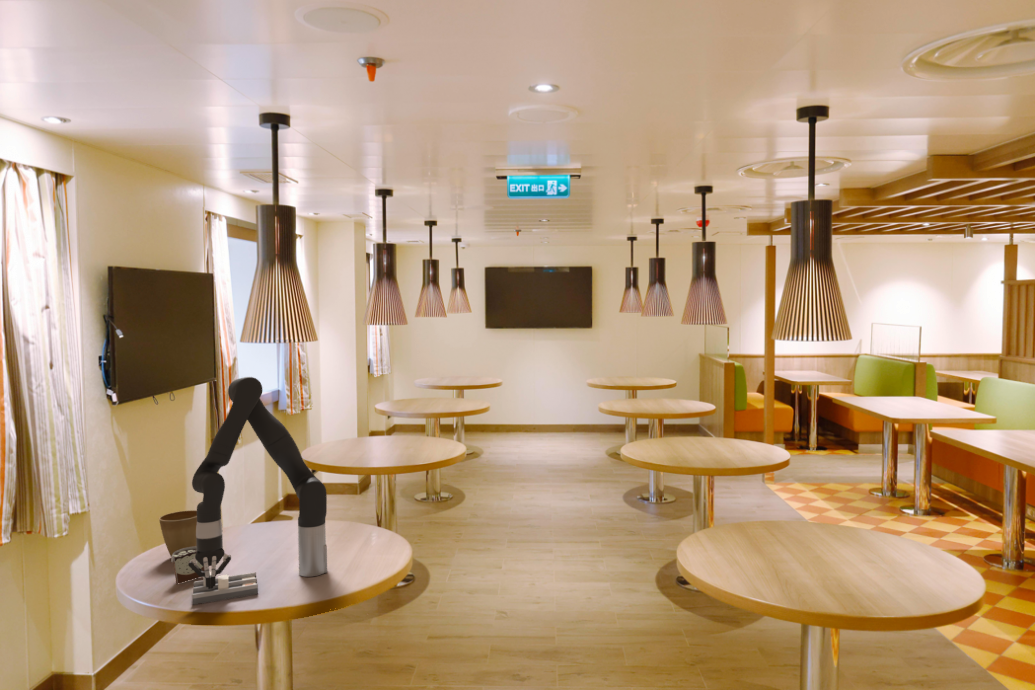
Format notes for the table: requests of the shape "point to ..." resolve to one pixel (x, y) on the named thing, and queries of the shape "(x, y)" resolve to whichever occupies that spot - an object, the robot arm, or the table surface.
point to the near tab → (223, 582)
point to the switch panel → (237, 588)
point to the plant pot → (179, 530)
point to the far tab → (205, 580)
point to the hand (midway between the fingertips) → (210, 587)
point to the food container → (185, 564)
